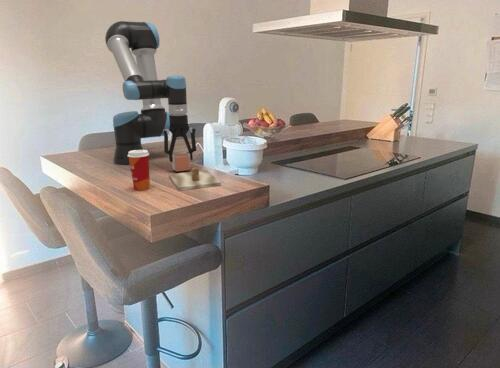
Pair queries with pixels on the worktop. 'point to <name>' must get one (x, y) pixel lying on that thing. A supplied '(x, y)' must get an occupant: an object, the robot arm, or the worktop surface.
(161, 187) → the worktop surface
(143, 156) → the paper cup
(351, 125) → the worktop surface
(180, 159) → the reddish orange cube
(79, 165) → the worktop surface
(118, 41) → the robot arm
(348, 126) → the worktop surface
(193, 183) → the board
